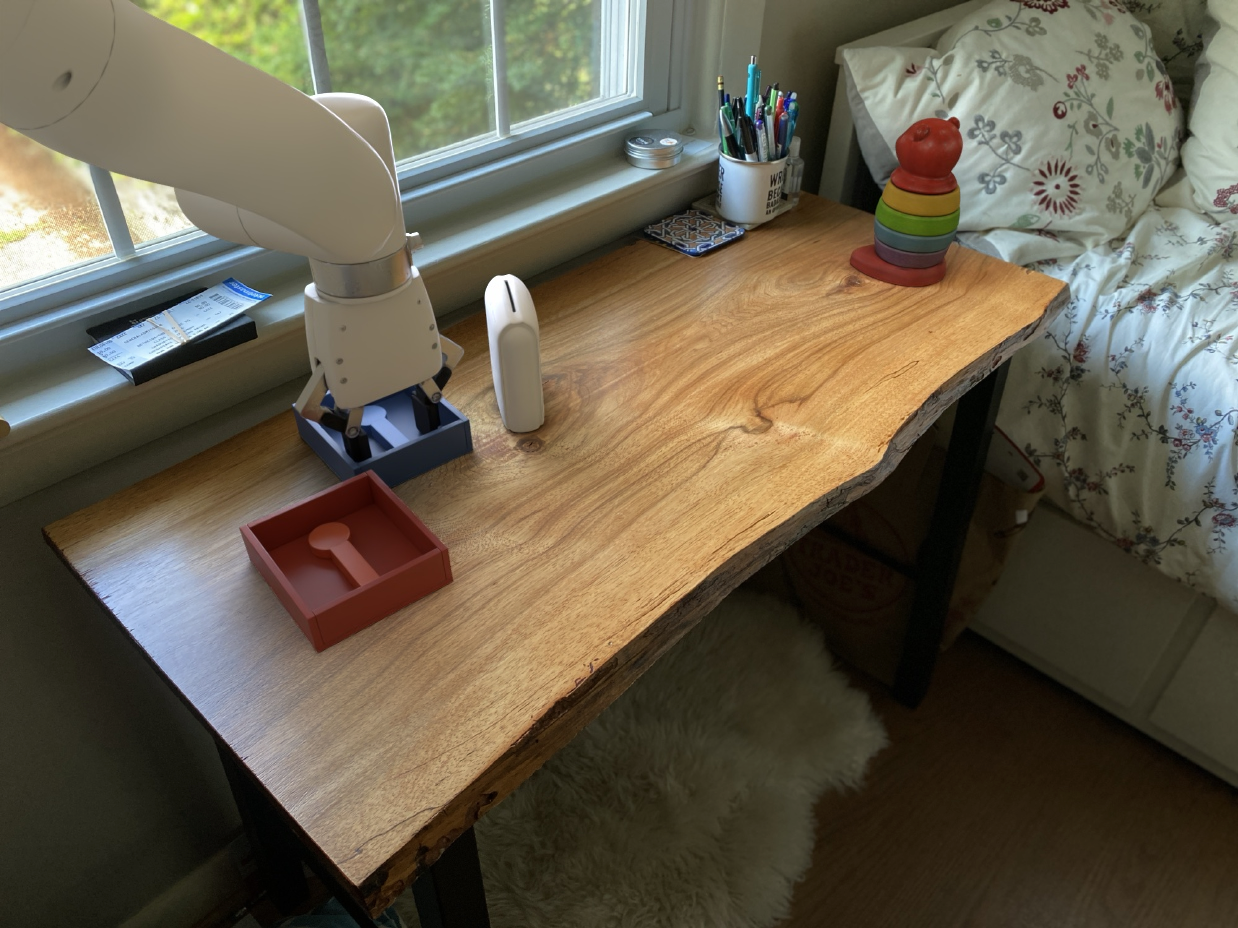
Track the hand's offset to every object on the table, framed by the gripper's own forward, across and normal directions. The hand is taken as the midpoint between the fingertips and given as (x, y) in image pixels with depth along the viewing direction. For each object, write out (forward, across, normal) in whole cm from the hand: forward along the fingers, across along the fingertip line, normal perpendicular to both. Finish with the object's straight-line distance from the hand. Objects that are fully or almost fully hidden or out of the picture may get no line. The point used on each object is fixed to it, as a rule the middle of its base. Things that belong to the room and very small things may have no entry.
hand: (396, 447), depth 83 cm
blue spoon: (0, 0, -2) cm, 2 cm away
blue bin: (+1, 0, -2) cm, 2 cm away
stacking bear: (+1, -65, +6) cm, 65 cm away
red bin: (+1, +10, +11) cm, 15 cm away
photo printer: (+1, -13, 0) cm, 13 cm away
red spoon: (0, +10, +11) cm, 15 cm away
